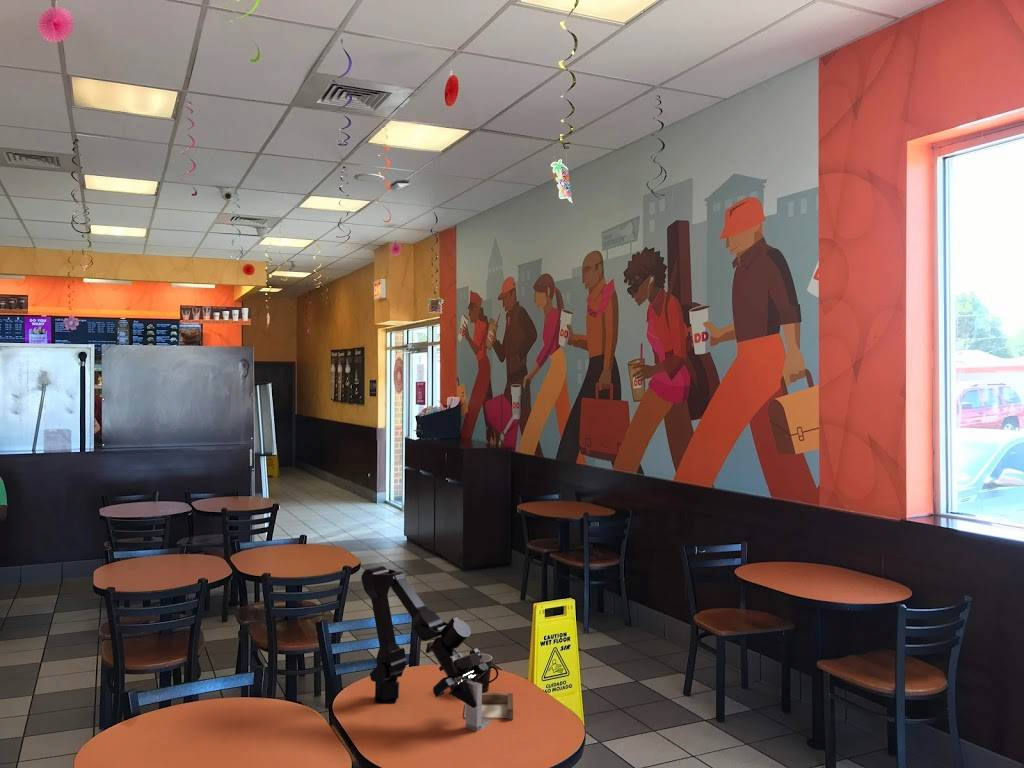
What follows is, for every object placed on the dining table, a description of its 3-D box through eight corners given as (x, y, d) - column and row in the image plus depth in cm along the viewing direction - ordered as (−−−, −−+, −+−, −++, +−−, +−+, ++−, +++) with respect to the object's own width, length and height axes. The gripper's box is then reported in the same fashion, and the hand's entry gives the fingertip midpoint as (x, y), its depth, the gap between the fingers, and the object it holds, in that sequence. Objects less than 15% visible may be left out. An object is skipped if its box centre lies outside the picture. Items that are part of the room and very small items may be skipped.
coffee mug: (460, 687, 252) (460, 655, 252) (485, 683, 255) (485, 651, 255) (474, 700, 241) (474, 667, 241) (500, 696, 245) (500, 663, 245)
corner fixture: (463, 719, 227) (463, 708, 227) (465, 702, 239) (465, 692, 239) (512, 719, 227) (513, 709, 227) (512, 703, 239) (512, 693, 239)
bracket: (465, 727, 222) (466, 682, 222) (478, 720, 226) (479, 676, 226) (476, 731, 219) (477, 685, 219) (490, 724, 224) (490, 679, 224)
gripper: (441, 649, 216) (473, 700, 209) (484, 633, 231) (514, 680, 225) (419, 672, 221) (449, 722, 214) (462, 654, 236) (491, 701, 229)
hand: (477, 705), depth 220 cm, fingers closed on bracket, 2 cm apart
